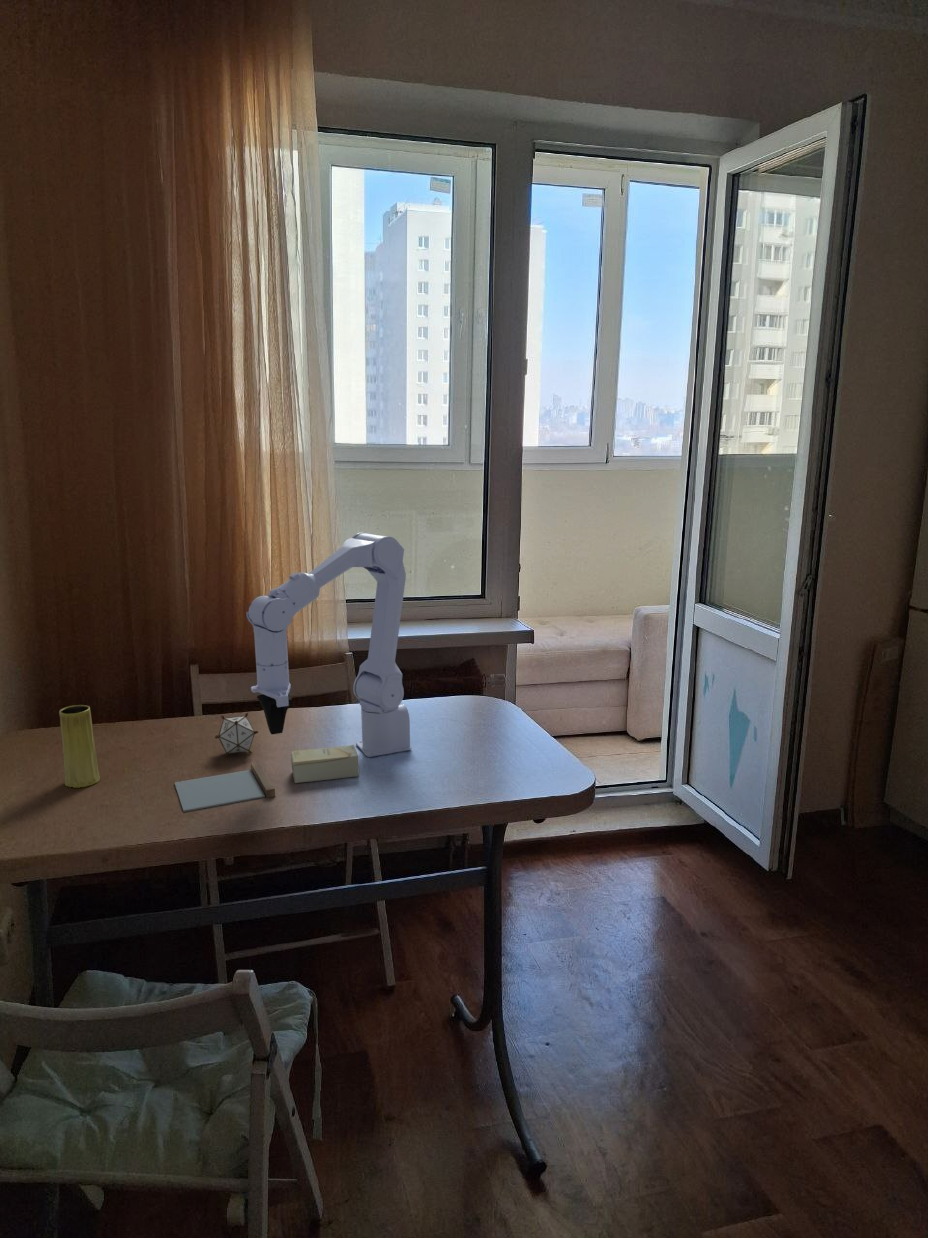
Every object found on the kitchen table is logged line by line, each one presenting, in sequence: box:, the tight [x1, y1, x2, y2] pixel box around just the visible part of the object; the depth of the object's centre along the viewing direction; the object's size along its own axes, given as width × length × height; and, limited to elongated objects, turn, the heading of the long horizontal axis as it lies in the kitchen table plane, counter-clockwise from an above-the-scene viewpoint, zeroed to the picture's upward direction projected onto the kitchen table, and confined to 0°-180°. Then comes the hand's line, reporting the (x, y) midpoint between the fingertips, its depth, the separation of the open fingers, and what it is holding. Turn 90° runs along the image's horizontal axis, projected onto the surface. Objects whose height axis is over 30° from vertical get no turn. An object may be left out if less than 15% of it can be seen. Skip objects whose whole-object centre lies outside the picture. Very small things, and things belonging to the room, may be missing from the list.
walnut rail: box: [250, 761, 276, 799], centre depth 161 cm, size 2×14×2 cm, turn 25°
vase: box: [58, 704, 101, 789], centre depth 161 cm, size 6×6×14 cm
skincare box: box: [290, 744, 360, 784], centre depth 165 cm, size 6×4×12 cm
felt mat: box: [174, 769, 266, 813], centre depth 158 cm, size 14×13×1 cm
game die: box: [214, 712, 259, 758], centre depth 175 cm, size 9×8×10 cm
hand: (276, 732), depth 161 cm, fingers closed
